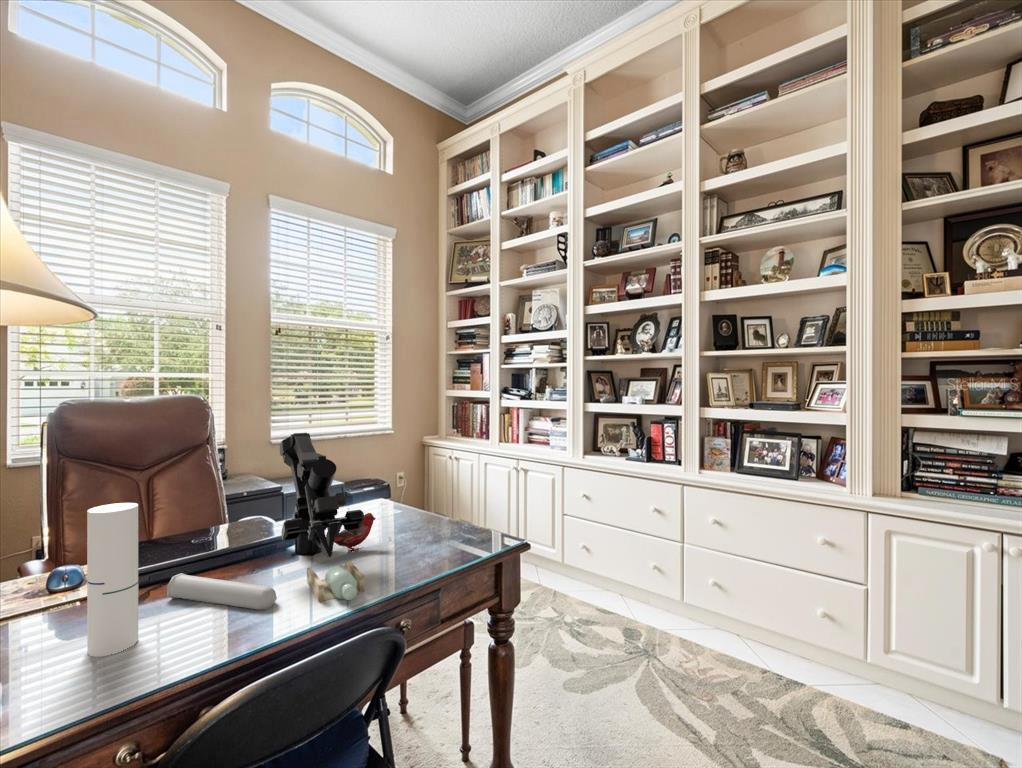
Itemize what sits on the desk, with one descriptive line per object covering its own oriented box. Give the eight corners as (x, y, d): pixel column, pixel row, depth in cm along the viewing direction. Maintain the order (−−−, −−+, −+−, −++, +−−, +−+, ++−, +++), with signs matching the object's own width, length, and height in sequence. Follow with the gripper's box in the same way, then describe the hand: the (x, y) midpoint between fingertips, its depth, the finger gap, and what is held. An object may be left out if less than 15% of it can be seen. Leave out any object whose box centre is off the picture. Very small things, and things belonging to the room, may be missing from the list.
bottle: (320, 577, 111) (333, 595, 102) (338, 560, 113) (352, 576, 104) (334, 591, 113) (348, 610, 104) (351, 574, 115) (366, 591, 106)
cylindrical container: (107, 636, 92) (106, 503, 92) (147, 634, 93) (147, 502, 92) (76, 657, 85) (76, 513, 85) (120, 655, 86) (120, 512, 85)
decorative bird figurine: (378, 546, 142) (378, 512, 142) (320, 563, 129) (320, 525, 129) (373, 544, 144) (373, 510, 144) (315, 560, 131) (315, 523, 131)
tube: (284, 585, 106) (190, 572, 112) (267, 586, 101) (170, 573, 108) (278, 612, 105) (183, 597, 111) (260, 615, 100) (163, 599, 106)
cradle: (306, 585, 115) (306, 568, 115) (349, 575, 121) (349, 559, 121) (318, 604, 105) (318, 585, 105) (364, 593, 111) (364, 575, 111)
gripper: (283, 486, 116) (292, 547, 107) (362, 478, 126) (376, 532, 117) (278, 511, 122) (285, 570, 114) (353, 501, 133) (365, 555, 124)
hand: (329, 556), depth 117 cm, fingers closed
